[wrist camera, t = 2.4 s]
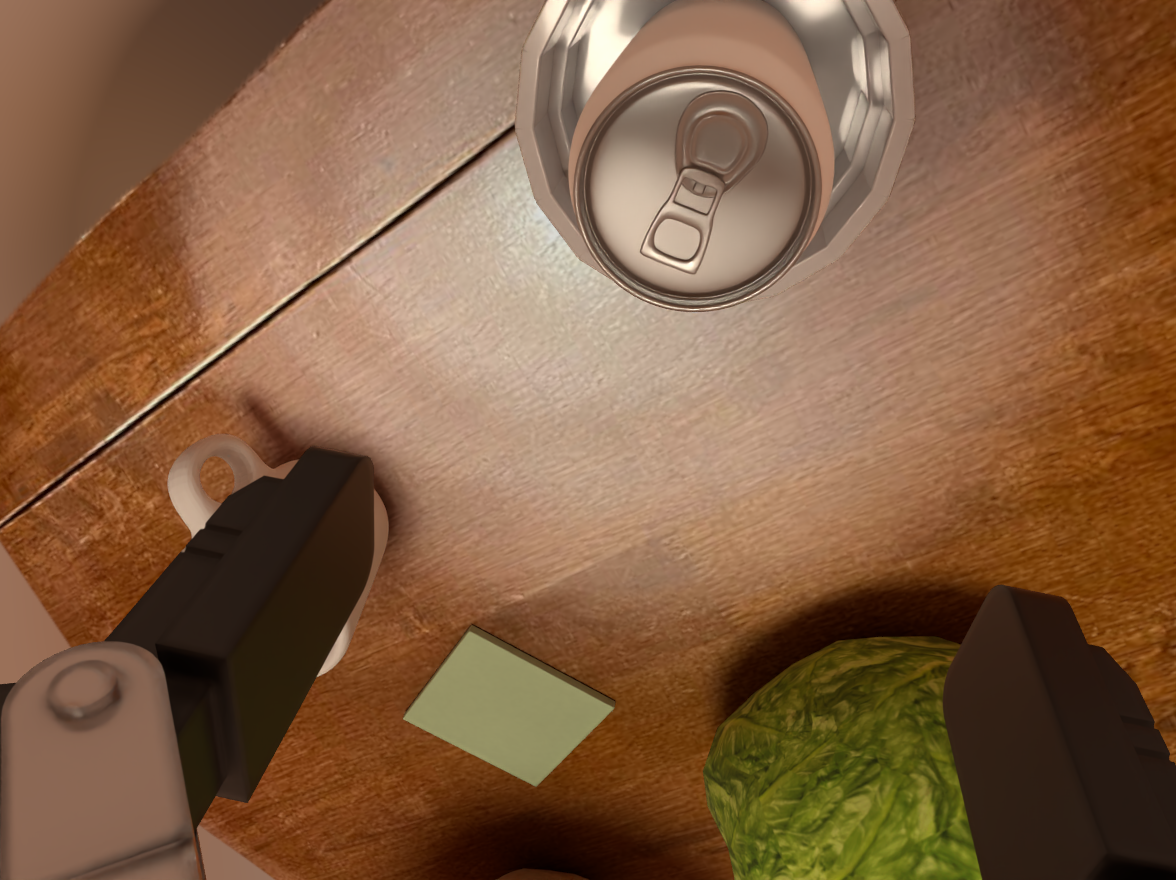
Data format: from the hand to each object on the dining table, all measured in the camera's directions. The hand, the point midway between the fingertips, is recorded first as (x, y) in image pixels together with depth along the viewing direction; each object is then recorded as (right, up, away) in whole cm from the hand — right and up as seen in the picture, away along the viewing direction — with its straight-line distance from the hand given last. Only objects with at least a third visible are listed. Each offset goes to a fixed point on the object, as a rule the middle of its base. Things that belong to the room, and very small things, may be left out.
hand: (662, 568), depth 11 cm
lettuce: (+17, -15, +34) cm, 41 cm away
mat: (-5, -13, +38) cm, 40 cm away
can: (+3, +14, +19) cm, 23 cm away
